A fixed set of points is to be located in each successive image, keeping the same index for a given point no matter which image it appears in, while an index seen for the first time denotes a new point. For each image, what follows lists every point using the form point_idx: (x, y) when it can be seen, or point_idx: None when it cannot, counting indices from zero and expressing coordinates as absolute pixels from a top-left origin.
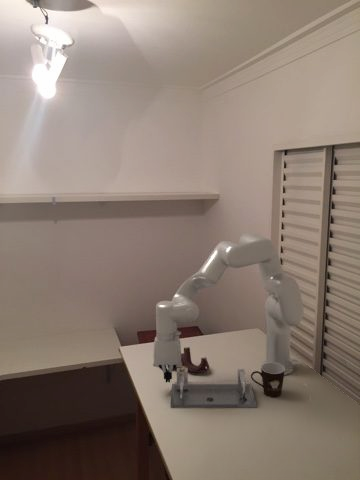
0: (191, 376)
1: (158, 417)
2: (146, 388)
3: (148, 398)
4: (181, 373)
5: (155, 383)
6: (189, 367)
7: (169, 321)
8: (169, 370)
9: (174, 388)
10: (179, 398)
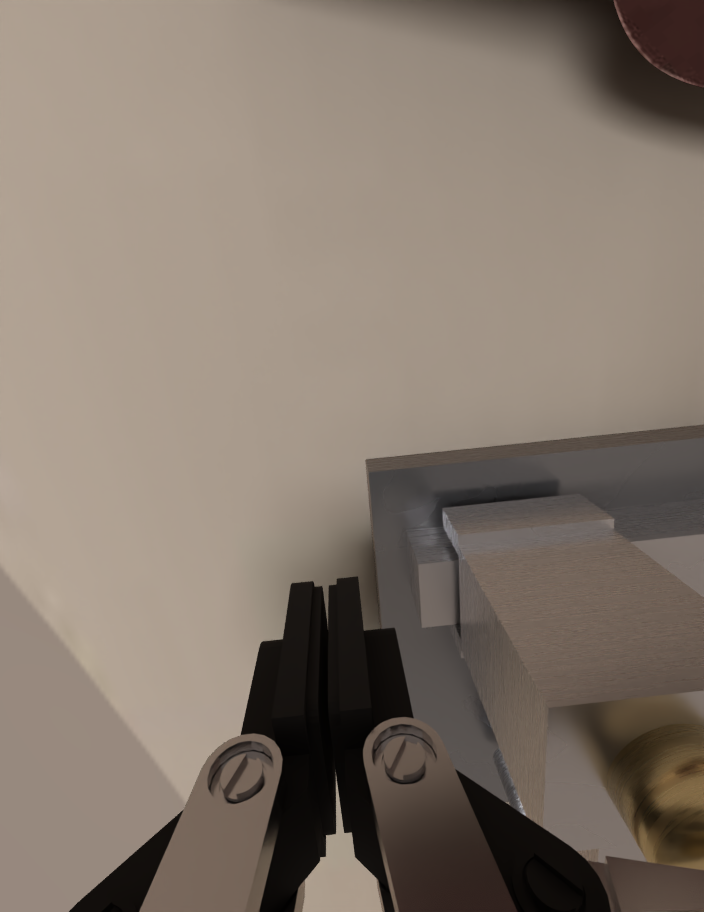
0: (612, 161)
1: (317, 886)
2: (66, 527)
3: (158, 691)
4: (630, 844)
5: (137, 406)
6: (672, 18)
7: None
8: (388, 895)
9: (412, 593)
10: (476, 730)
